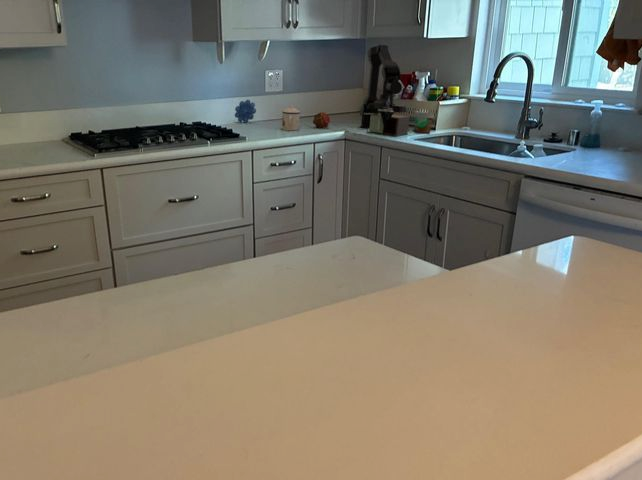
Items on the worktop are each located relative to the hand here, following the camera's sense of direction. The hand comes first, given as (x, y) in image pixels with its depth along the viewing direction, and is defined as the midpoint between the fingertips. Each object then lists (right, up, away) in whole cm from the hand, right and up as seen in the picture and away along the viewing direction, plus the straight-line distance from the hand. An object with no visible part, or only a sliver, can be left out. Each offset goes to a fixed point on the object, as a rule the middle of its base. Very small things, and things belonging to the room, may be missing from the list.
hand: (384, 125), depth 301 cm
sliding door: (-4, -1, +6) cm, 8 cm away
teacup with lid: (-46, +1, +12) cm, 47 cm away
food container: (+21, +1, +15) cm, 25 cm away
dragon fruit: (-29, +5, +23) cm, 37 cm away
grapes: (-69, +11, +33) cm, 77 cm away
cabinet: (+3, -2, +8) cm, 9 cm away
